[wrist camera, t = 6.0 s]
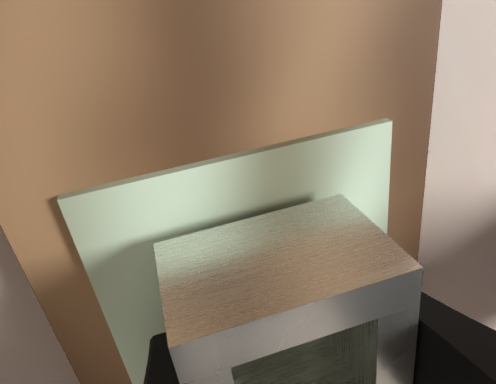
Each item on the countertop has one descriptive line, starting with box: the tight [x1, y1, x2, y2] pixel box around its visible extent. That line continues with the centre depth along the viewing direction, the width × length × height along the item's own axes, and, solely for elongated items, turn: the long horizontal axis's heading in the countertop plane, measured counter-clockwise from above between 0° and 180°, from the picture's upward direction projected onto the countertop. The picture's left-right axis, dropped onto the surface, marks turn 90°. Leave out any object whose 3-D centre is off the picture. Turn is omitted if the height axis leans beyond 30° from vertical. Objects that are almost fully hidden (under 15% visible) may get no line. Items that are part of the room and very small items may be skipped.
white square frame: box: [153, 194, 423, 384], centre depth 10 cm, size 5×5×4 cm
